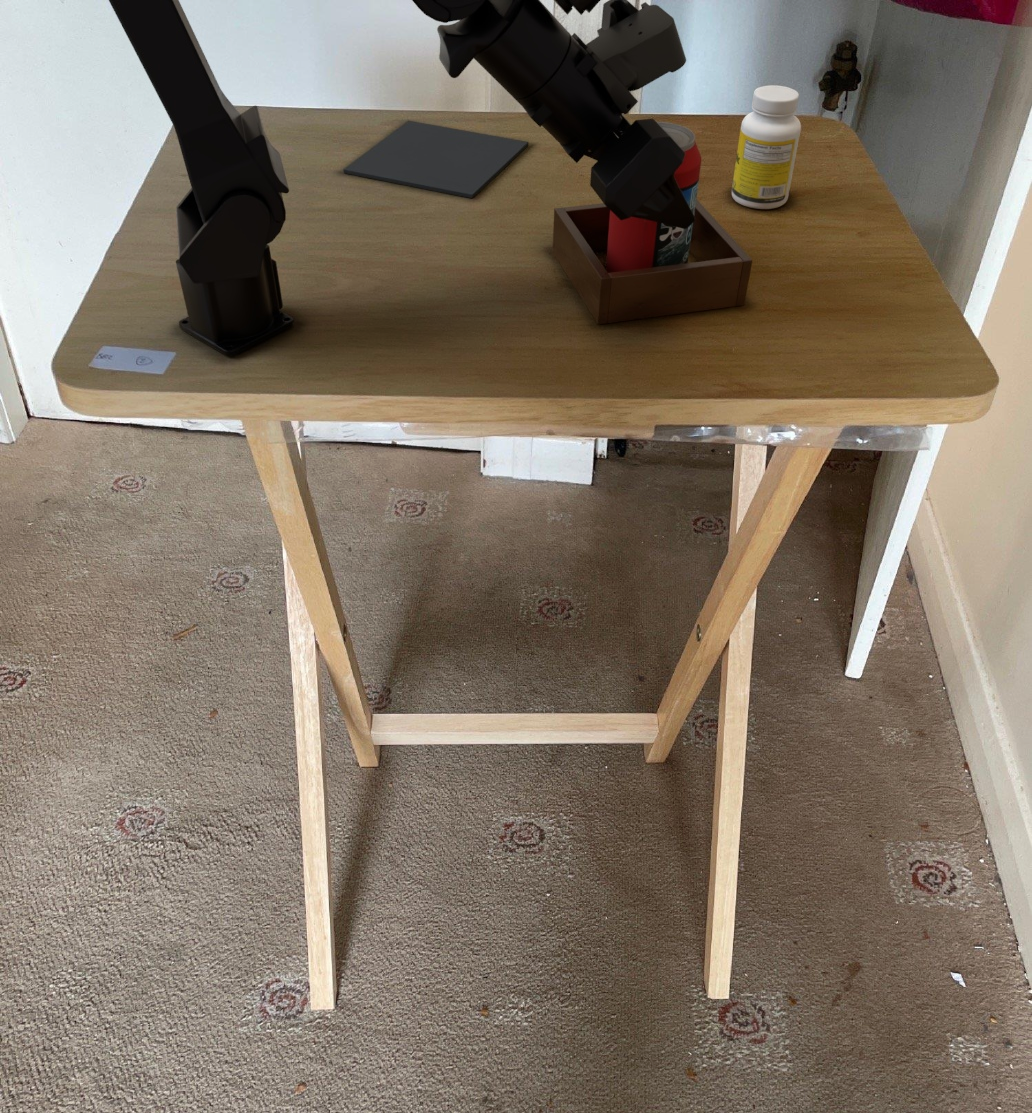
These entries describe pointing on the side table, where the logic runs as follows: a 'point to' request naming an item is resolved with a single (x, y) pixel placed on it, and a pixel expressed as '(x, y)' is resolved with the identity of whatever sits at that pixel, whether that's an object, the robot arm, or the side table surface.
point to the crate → (649, 269)
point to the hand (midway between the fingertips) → (668, 198)
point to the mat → (437, 158)
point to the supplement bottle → (767, 149)
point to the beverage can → (654, 241)
